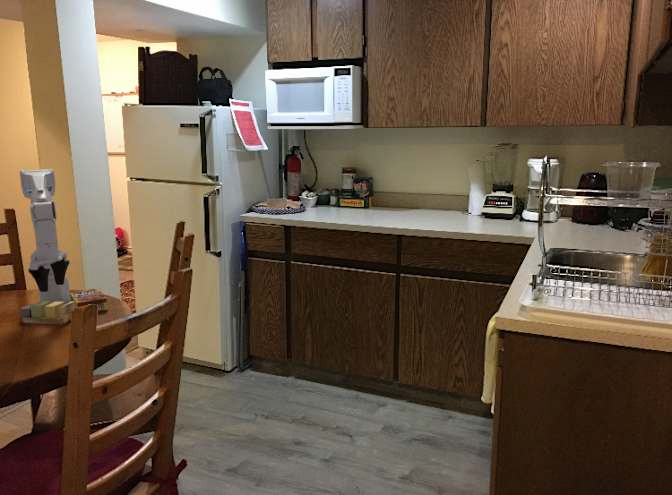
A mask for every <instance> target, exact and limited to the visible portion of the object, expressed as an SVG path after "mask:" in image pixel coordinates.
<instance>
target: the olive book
mask: <svg viewBox="0 0 672 495" xmlns="http://www.w3.org/2000/svg"><path fill="white" fill-rule="evenodd" d="M33 304H34V305H31V306H30V307H31V315H32V317H35V318H46V312H45V306H47V305H49V304H51V303H50V301H40V300H39V301H38V302H36V303H33Z"/></svg>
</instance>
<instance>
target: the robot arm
mask: <svg viewBox="0 0 672 495" xmlns="http://www.w3.org/2000/svg"><path fill="white" fill-rule="evenodd" d="M19 177H20V178H19V179H20V185H21V192H22V195H23V197H24V198H26V199H29V200H30V205H29V209H30V210H29V211H30V218H31V219H30V220H31V222H32V225H33V229H34V237H35V238H34V239H35V246H36V249H35V250H34V251H33V252H32V253H31V255H30V262H29V268H27V269H28V273H29V274H30V275H31V276H32V278H33V279H34V280H35V282H36V285H37V289H38V296H39V297H38V299H39V302H40V301H50V303H53V302H65V304H66V303H68V302H70V301H71V299H70V292H71V290H70V282H69V279H68V277H67V276H66V273H67V269H68V268H69V266H70V260H69V259H68V253H67V252H63V251H62V250H60V249H59V243H58V233H57V231H58V230H57V224H56V221H57V217H58V216H57V208H56V204H55V201H54V200H53V198H52V197H54V196H55V195H56V194H55V193H56V180H55V179H56V178H55V171H54V170H53V168H44V169H24V170H23V169H20V171H19Z"/></svg>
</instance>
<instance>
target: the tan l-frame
mask: <svg viewBox="0 0 672 495" xmlns="http://www.w3.org/2000/svg"><path fill="white" fill-rule="evenodd" d="M74 308H75V301H71V300H70V301H68V302H66V303H65V304H64V305H62V306H60V307H59V315H60V318H35V317H24V318H23V321H22V322H23V323H24V324H43V325H45V324H46V325H64V324H66V323H68V322H69V320H70V318H71V312H72V310H73V309H74ZM67 321H68V322H67ZM70 321H71V320H70ZM65 322H66V323H65ZM63 323H64V324H63Z"/></svg>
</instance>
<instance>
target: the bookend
mask: <svg viewBox="0 0 672 495" xmlns="http://www.w3.org/2000/svg"><path fill="white" fill-rule="evenodd" d="M34 304H35V303H29V304H27V305H24V306H22V307H20V308H19V310H20V312H19V313H20V318H21V322H23V318H24V317H32V315H31V307H30V306H31V305H34Z"/></svg>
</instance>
